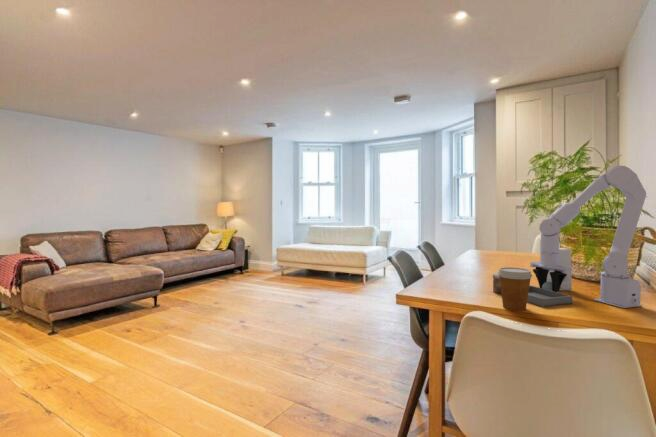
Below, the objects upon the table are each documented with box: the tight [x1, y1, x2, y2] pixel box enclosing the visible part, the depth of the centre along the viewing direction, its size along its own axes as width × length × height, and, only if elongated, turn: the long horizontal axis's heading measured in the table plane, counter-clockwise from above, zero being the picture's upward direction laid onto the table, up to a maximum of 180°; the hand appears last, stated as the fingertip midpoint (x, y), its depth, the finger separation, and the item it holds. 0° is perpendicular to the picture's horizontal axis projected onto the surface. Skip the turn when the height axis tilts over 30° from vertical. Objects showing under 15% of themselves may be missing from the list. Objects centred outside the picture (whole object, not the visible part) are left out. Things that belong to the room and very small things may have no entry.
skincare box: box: [547, 247, 573, 292], centre depth 131 cm, size 8×7×16 cm
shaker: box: [492, 273, 502, 295], centre depth 125 cm, size 5×5×6 cm
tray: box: [527, 284, 573, 308], centre depth 116 cm, size 16×12×2 cm
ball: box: [542, 282, 552, 291], centre depth 122 cm, size 4×4×4 cm
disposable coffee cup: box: [497, 266, 533, 312], centre depth 106 cm, size 10×10×12 cm
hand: (549, 290), depth 122 cm, fingers open, 5 cm apart
